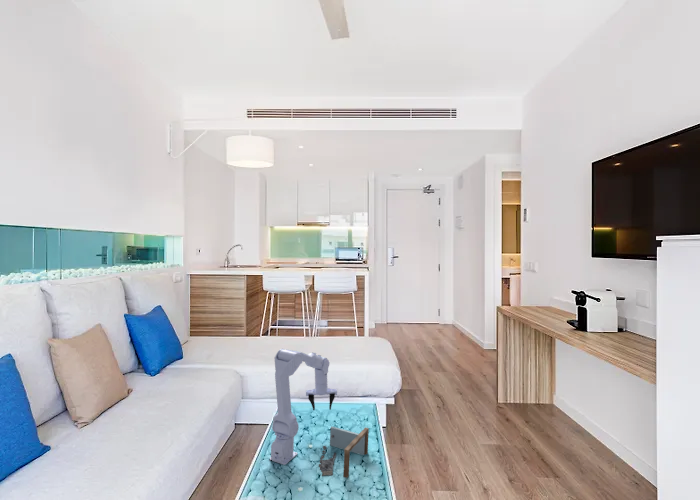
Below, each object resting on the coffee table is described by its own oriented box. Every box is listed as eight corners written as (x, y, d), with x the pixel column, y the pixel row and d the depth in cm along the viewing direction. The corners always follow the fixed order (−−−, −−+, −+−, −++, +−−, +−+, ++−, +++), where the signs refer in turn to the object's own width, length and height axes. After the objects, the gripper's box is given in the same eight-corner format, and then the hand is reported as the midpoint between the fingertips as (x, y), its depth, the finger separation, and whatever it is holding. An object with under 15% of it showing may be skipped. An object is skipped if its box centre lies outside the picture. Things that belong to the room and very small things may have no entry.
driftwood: (332, 478, 155) (332, 473, 155) (314, 477, 156) (315, 471, 155) (338, 450, 176) (338, 445, 175) (323, 449, 176) (323, 444, 176)
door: (328, 446, 176) (329, 428, 176) (331, 444, 178) (331, 426, 178) (362, 456, 169) (362, 437, 169) (364, 453, 171) (365, 435, 171)
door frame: (347, 477, 155) (348, 450, 154) (343, 476, 155) (344, 449, 155) (367, 453, 173) (368, 428, 172) (364, 452, 173) (365, 427, 173)
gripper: (336, 377, 193) (337, 403, 195) (306, 378, 193) (307, 405, 195) (336, 384, 186) (337, 411, 188) (305, 385, 186) (306, 413, 188)
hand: (322, 408), depth 191 cm, fingers open, 7 cm apart
